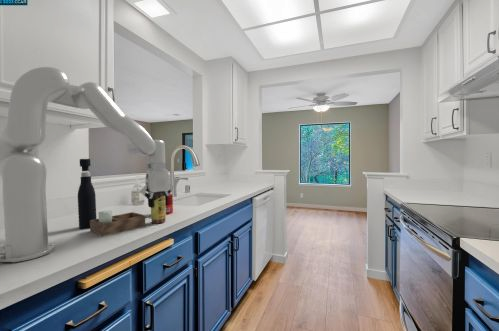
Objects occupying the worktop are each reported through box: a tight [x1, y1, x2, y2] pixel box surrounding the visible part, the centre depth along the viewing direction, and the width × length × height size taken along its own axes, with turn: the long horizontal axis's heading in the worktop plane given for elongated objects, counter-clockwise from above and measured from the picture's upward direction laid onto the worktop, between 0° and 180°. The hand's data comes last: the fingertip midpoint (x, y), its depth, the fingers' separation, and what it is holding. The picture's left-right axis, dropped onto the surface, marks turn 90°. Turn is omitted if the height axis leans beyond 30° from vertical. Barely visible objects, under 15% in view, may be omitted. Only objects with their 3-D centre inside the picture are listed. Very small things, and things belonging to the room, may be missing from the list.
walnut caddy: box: [89, 211, 146, 237], centre depth 99 cm, size 17×12×4 cm, turn 142°
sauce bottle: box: [150, 191, 167, 224], centre depth 106 cm, size 6×6×20 cm
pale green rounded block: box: [98, 210, 113, 224], centre depth 95 cm, size 5×5×7 cm
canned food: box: [165, 191, 174, 216], centre depth 125 cm, size 8×8×11 cm
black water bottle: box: [77, 158, 97, 230], centre depth 101 cm, size 6×6×30 cm
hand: (158, 205), depth 106 cm, fingers closed on sauce bottle, 6 cm apart
